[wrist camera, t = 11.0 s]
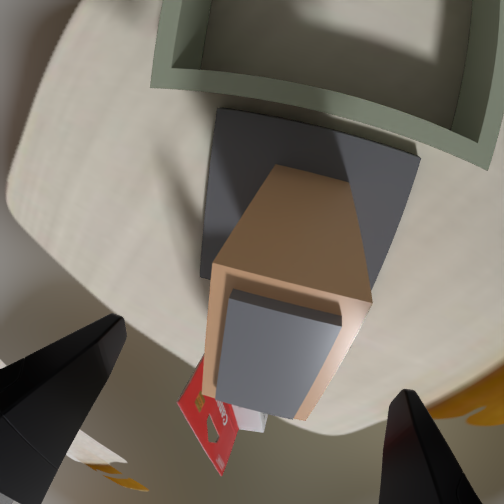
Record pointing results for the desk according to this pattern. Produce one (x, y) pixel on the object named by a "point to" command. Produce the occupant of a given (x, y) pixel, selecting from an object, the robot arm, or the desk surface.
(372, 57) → the desk surface
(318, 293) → the box
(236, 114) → the rubber mat
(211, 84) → the case
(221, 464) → the ink cartridge box
